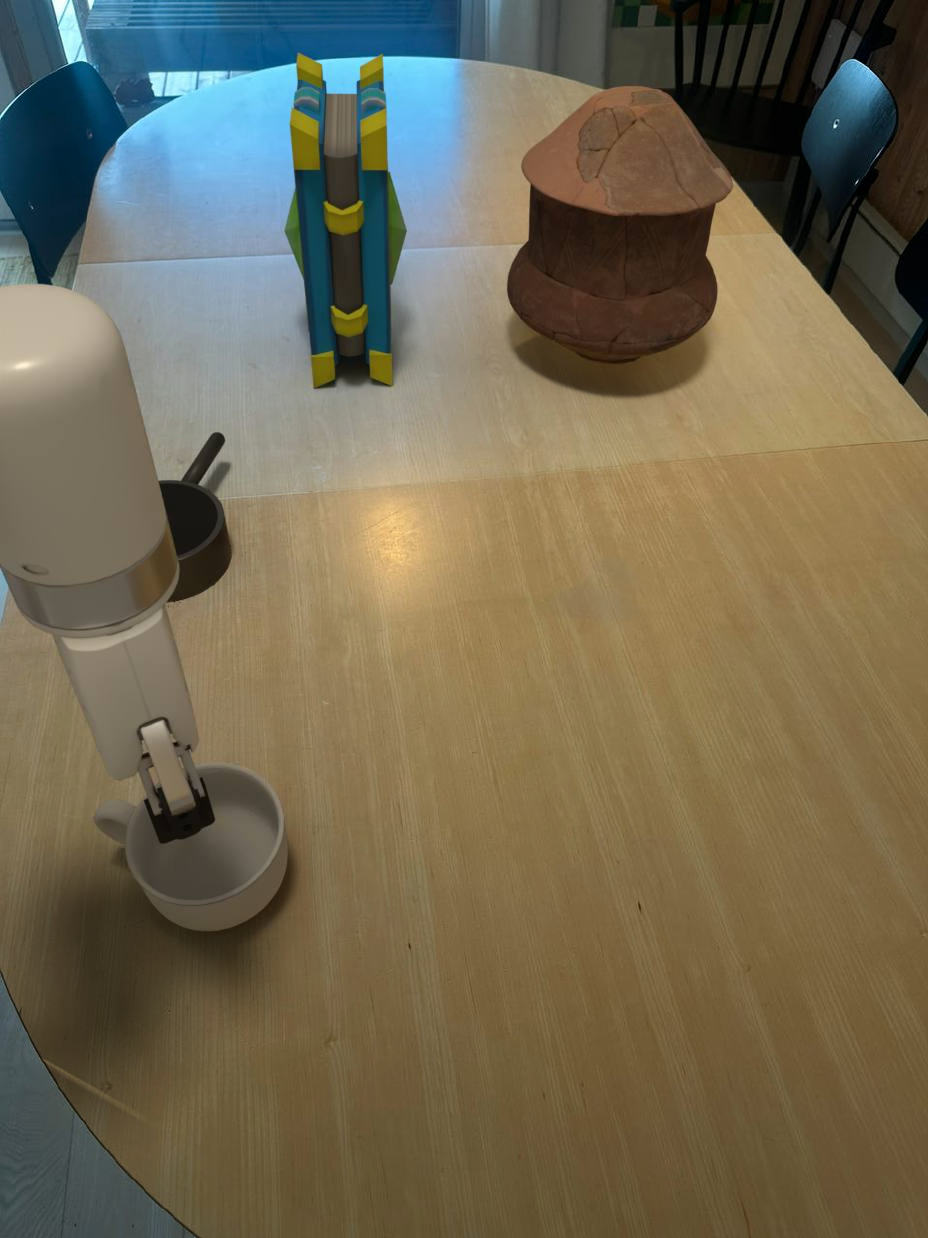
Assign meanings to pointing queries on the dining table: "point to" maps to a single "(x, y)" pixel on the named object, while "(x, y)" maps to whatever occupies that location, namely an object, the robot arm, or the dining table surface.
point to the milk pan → (197, 525)
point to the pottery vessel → (619, 228)
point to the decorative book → (344, 218)
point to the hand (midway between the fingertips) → (161, 765)
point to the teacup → (208, 851)
